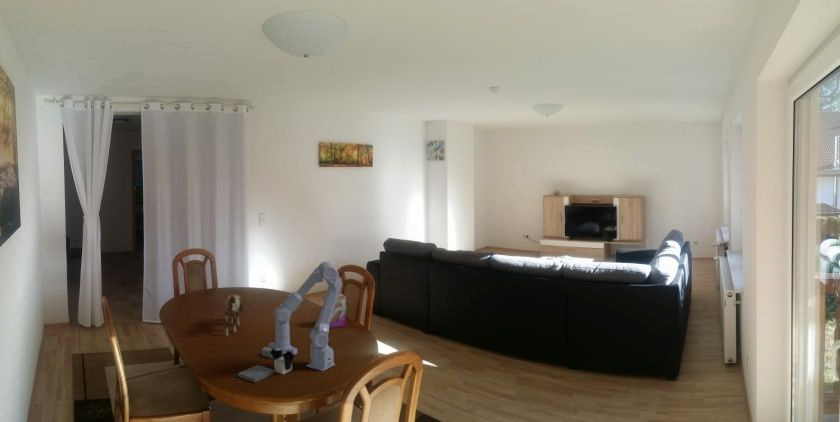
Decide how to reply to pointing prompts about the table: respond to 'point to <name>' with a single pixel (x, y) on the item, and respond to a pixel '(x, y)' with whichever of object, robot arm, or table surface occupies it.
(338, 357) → the table surface
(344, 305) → the candy bar box
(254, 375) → the slate tile
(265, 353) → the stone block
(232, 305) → the brown animal figure
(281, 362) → the cube
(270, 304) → the table surface
